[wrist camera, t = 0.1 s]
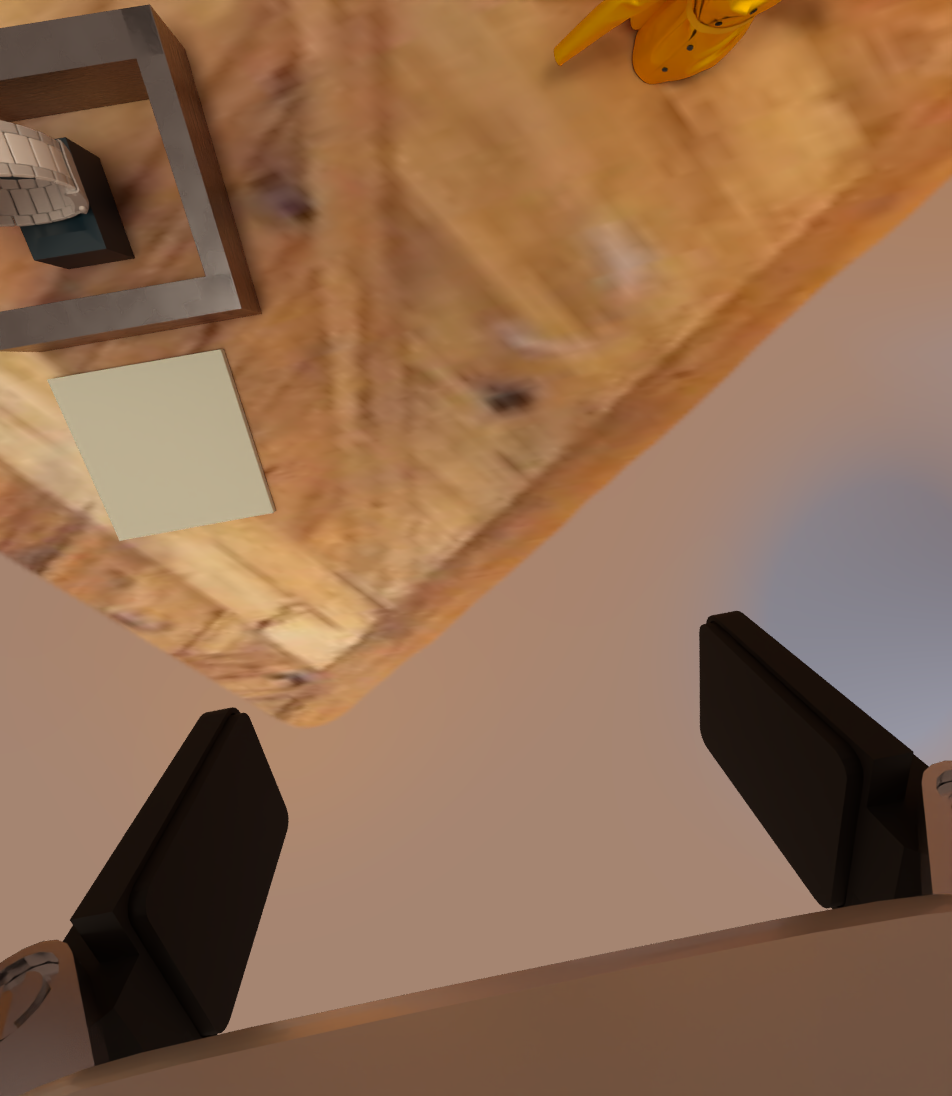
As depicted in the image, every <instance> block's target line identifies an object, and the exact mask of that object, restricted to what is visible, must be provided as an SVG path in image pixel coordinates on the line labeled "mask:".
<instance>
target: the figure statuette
mask: <svg viewBox="0 0 952 1096" xmlns="http://www.w3.org/2000/svg"><path fill="white" fill-rule="evenodd" d="M780 1H781V0H604V1H603V2H601V3H600V4H599V5H598V6H597V7H596V8H595V9H593V10H592V11H591V12H590V13H589V14H588V15H587V16H586V17H585V18H584V19H583V20H582V21H581V22H580V23H579V24H578V25H577V26H576V27H575V28H574V29H573V30H572V31H571V32H570V33H569V34H568V35H567V36H566V37H565V38H564V39H563V40H562V41H561V42H560V43H559V44H558V45H557V46H556V47H555V48H554V57H555V60H556V62H557V64H558V65H559V66H562V64H564V63H565V62H566V61H568V60H569V59H571V58H572V57H573V56H575V55H576V54H578V53H579V52H581V51H582V50H584V49H585V48H586V47H588V46H589V45H591V44H592V43H593V42H595V41H596V40H598V39H599V38H600V37H602V36H603V35H605V34H606V33H607V32H609V31H610V30H612V29H613V28H615V27H616V26H618V25H620V24H621V23H623V22H624V21H626V20H627V19H629V18H630V23H631V27H632V29H634V30H638V29H639V31H638V33H637V35H636V39H635V45H634V50H633V67H634V70H635V72H636V73H637V75H638V76H639V77H640V78H641V79H642V80H643V81H644V82H646V83H648V84H657V83H662V82H666V81H675V80H680V79H684V78H687V77H690V76H693V75H695V74H697V73H699V72H701V71H704V70H706V69H709V68H711V67H713V66H714V65H716V64H717V63H718V62H719V61H720V60H721V59H722V58H723V57H724V56H725V55H726V54H727V53H728V52H729V51H730V50H731V49H732V48H733V47H734V46H735V45H736V44H737V42H738V41H739V40H740V39H741V38H742V36H743V35H744V34H745V32H746V31H747V29H748V28H749V26H750V25H751V23H752V21H753V19H754V17H755V16H756V15H757V14H759V13H761V12H763V11H765V10H767V9H769V8H771V7H772V6H774V5H776V4H777V3H778V2H780Z"/></svg>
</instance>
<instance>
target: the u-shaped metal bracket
mask: <svg viewBox="0 0 952 1096" xmlns="http://www.w3.org/2000/svg"><path fill="white" fill-rule="evenodd" d="M145 99H150V103H151V106H152V109H153V112H154V115H155V118H156V121H157V125H158V128H159V131H160V134H161V137H162V140H163V143H164V146H165V150H166V153H167V156H168V159H169V162H170V165H171V168H172V172H173V175H174V178H175V181H176V184H177V187H178V190H179V194H180V197H181V200H182V203H183V206H184V209H185V212H186V215H187V219H188V222H189V225H190V228H191V231H192V234H193V237H194V241H195V244H196V247H197V250H198V253H199V256H200V259H201V263H202V266H203V269H204V272H205V275H206V277H201V278H195V279H189V280H183V281H177V282H171V283H166V284H160V285H154V286H148V287H142V288H136V289H131V290H125V291H119V292H113V293H107V294H101V295H96V296H90V297H84V298H78V299H72V300H66V301H61V302H55V303H49V304H43V305H37V306H31V307H26V308H20V309H14V310H8V311H2V312H0V351H10V352H44V351H50V350H56V349H61V348H67V347H73V346H79V345H85V344H90V343H96V342H102V341H108V340H113V339H119V338H125V337H131V336H136V335H142V334H148V333H154V332H159V331H165V330H171V329H177V328H182V327H188V326H194V325H200V324H206V323H211V322H217V321H223V320H229V319H234V318H240V317H246V316H252V315H257V314H262V313H261V310H260V306H259V303H258V300H257V296H256V293H255V289H254V286H253V282H252V279H251V275H250V272H249V268H248V265H247V262H246V258H245V255H244V251H243V248H242V244H241V241H240V237H239V234H238V231H237V227H236V224H235V220H234V217H233V213H232V210H231V206H230V203H229V200H228V196H227V193H226V189H225V186H224V182H223V179H222V175H221V172H220V169H219V165H218V162H217V158H216V155H215V151H214V148H213V144H212V141H211V137H210V134H209V131H208V127H207V124H206V120H205V117H204V113H203V110H202V106H201V103H200V100H199V96H198V93H197V89H196V86H195V82H194V79H193V75H192V72H191V69H190V65H189V62H188V58H187V55H186V51H185V49H184V47H183V46H182V45H181V43H180V42H179V41H178V40H177V38H176V37H175V36H174V35H173V33H172V32H171V31H170V30H169V28H168V27H167V26H166V24H165V23H164V22H163V21H162V19H161V18H160V17H159V16H158V14H157V13H156V12H155V11H154V9H153V8H152V7H151V5H143V6H137V7H131V8H125V9H118V10H112V11H106V12H100V13H93V14H87V15H81V16H74V17H68V18H62V19H56V20H49V21H43V22H37V23H30V24H24V25H18V26H12V27H5V28H0V120H1V121H6V122H11V121H17V120H23V119H29V118H35V117H41V116H47V115H53V114H59V113H66V112H72V111H78V110H84V109H90V108H96V107H102V106H108V105H115V104H121V103H127V102H133V101H139V100H145Z"/></svg>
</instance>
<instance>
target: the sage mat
mask: <svg viewBox="0 0 952 1096" xmlns="http://www.w3.org/2000/svg"><path fill="white" fill-rule="evenodd" d="M48 383H49V385H50V387H51V389H52V391H53V394H54V396H55V398H56V400H57V403H58V405H59V407H60V409H61V411H62V414H63V416H64V418H65V420H66V423H67V425H68V427H69V429H70V431H71V434H72V436H73V438H74V440H75V443H76V445H77V447H78V449H79V451H80V454H81V456H82V458H83V460H84V463H85V465H86V467H87V469H88V471H89V474H90V476H91V478H92V480H93V483H94V485H95V487H96V489H97V491H98V494H99V496H100V498H101V500H102V503H103V505H104V507H105V509H106V511H107V514H108V516H109V518H110V520H111V523H112V525H113V527H114V529H115V531H116V534H117V536H118V538H119V540H120V541H122V540H127V539H133V538H138V537H144V536H149V535H155V534H160V533H166V532H171V531H177V530H182V529H188V528H193V527H199V526H204V525H209V524H215V523H220V522H226V521H231V520H237V519H242V518H248V517H253V516H259V515H264V514H270V513H274V512H275V511H276V510H275V506H274V503H273V500H272V497H271V494H270V491H269V488H268V485H267V482H266V479H265V475H264V472H263V469H262V466H261V463H260V460H259V457H258V454H257V451H256V448H255V444H254V441H253V438H252V435H251V432H250V429H249V426H248V423H247V420H246V417H245V413H244V410H243V407H242V404H241V401H240V398H239V395H238V392H237V389H236V386H235V382H234V379H233V376H232V373H231V370H230V367H229V364H228V361H227V358H226V354H225V351H224V349H220V350H214V351H208V352H202V353H197V354H191V355H185V356H180V357H174V358H168V359H162V360H157V361H151V362H145V363H139V364H134V365H128V366H122V367H117V368H111V369H105V370H99V371H94V372H88V373H82V374H76V375H71V376H65V377H59V378H54V379H48Z"/></svg>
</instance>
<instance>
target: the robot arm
mask: <svg viewBox="0 0 952 1096" xmlns="http://www.w3.org/2000/svg"><path fill="white" fill-rule="evenodd" d="M699 637H700V639H699V640H700V731H701V736H702V738H703V741H704V743H705V745H706V747H707V748H708V749H709V751H710V752H711V754H712V755H713V757H714V758H715V759H716V761H717V762H718V764H719V765H720V766H721V768H722V769H723V771H724V772H725V774H726V775H727V776H728V778H729V779H730V781H731V782H732V783H733V785H734V786H735V788H736V789H737V790H738V792H739V793H740V794H741V796H742V797H743V799H744V800H745V802H746V803H747V804H748V806H749V807H750V809H751V810H752V811H753V813H754V814H755V816H756V817H757V818H758V820H759V821H760V822H761V824H762V825H763V827H764V828H765V830H766V831H767V832H768V834H769V835H770V837H771V838H772V839H773V841H774V842H775V844H776V845H777V846H778V848H779V849H780V851H781V852H782V853H783V855H784V856H785V858H786V859H787V861H788V862H789V863H790V865H791V866H792V867H793V869H794V870H795V871H796V873H797V874H798V876H799V877H800V879H801V880H802V882H803V883H804V884H805V886H806V887H807V888H808V890H809V891H810V893H811V894H812V896H813V897H814V898H815V899H816V900H817V902H818V903H819V904H820V905H821V906H822V907H824V908H832V910H826V911H821V912H815V913H809V914H804V915H799V916H792V917H787V918H781V919H776V920H770V921H766V922H760V923H755V924H751V925H745V926H741V927H735V928H730V929H725V930H720V931H716V932H710V933H705V934H700V935H695V936H690V937H685V938H680V939H675V940H670V941H665V942H660V943H655V944H650V945H645V946H640V947H635V948H630V949H625V950H620V951H615V952H610V953H605V954H600V955H595V956H590V957H585V958H580V959H576V960H571V961H566V962H561V963H556V964H551V965H547V966H541V967H537V968H532V969H527V970H522V971H517V972H512V973H507V974H502V975H497V976H493V977H488V978H483V979H478V980H473V981H469V982H464V983H459V984H454V985H449V986H444V987H440V988H434V989H430V990H425V991H420V992H415V993H411V994H406V995H401V996H396V997H392V998H387V999H382V1000H377V1001H373V1002H368V1003H364V1004H358V1005H354V1006H349V1007H344V1008H340V1009H335V1010H330V1011H326V1012H321V1013H316V1014H311V1015H307V1016H302V1017H298V1018H293V1019H288V1020H283V1021H278V1022H274V1023H269V1024H264V1025H260V1026H255V1027H250V1028H246V1029H242V1030H237V1031H233V1032H228V1033H224V1034H220V1035H217V1034H218V1033H222V1032H223V1031H224V1030H225V1028H226V1027H227V1025H228V1023H229V1020H230V1018H231V1014H232V1011H233V1007H234V1004H235V1001H236V998H237V994H238V991H239V988H240V985H241V981H242V978H243V975H244V971H245V968H246V965H247V961H248V958H249V955H250V952H251V948H252V945H253V941H254V938H255V935H256V931H257V928H258V925H259V922H260V918H261V915H262V912H263V909H264V905H265V902H266V899H267V895H268V892H269V889H270V885H271V882H272V879H273V875H274V872H275V869H276V865H277V862H278V859H279V856H280V852H281V849H282V846H283V843H284V839H285V835H286V832H287V829H288V812H287V808H286V806H285V804H284V801H283V798H282V796H281V794H280V791H279V789H278V786H277V784H276V781H275V779H274V776H273V774H272V772H271V769H270V767H269V764H268V762H267V759H266V757H265V754H264V752H263V749H262V747H261V745H260V742H259V740H258V737H257V735H256V732H255V730H254V727H253V725H252V722H251V720H250V718H249V716H248V715H247V714H246V713H240V712H239V710H237V709H236V708H227V709H222V710H217V711H212V712H206V713H204V714H203V715H202V716H201V717H200V718H199V720H198V721H197V723H196V724H195V726H194V727H193V729H192V731H191V732H190V734H189V735H188V737H187V738H186V740H185V742H184V743H183V745H182V746H181V748H180V749H179V751H178V752H177V754H176V756H175V757H174V759H173V760H172V762H171V763H170V765H169V766H168V768H167V769H166V771H165V773H164V774H163V776H162V777H161V779H160V780H159V782H158V784H157V785H156V787H155V788H154V790H153V791H152V793H151V794H150V796H149V797H148V799H147V801H146V802H145V804H144V805H143V807H142V808H141V810H140V812H139V813H138V815H137V816H136V818H135V819H134V821H133V823H132V824H131V826H130V827H129V829H128V830H127V832H126V833H125V835H124V836H123V838H122V840H121V841H120V843H119V844H118V846H117V847H116V849H115V850H114V852H113V854H112V855H111V857H110V858H109V860H108V861H107V863H106V865H105V866H104V868H103V869H102V871H101V872H100V874H99V876H98V877H97V879H96V880H95V882H94V883H93V885H92V886H91V888H90V890H89V891H88V893H87V894H86V896H85V897H84V899H83V900H82V902H81V904H80V905H79V907H78V908H77V910H76V911H75V913H74V915H73V916H72V918H71V919H70V921H71V922H72V924H73V926H72V928H71V929H70V931H69V933H68V934H67V936H66V937H65V939H64V940H63V942H62V941H59V940H50V941H42V942H39V943H37V944H34V945H31V946H29V947H26V948H24V949H22V950H21V951H19V952H17V953H15V954H14V955H12V956H10V957H8V958H7V959H5V960H4V961H3V962H1V963H0V1096H952V761H943V762H939V763H936V764H932V765H931V766H930V767H929V766H927V765H926V764H925V763H924V762H922V761H921V760H920V759H919V758H918V757H916V756H915V755H914V754H913V751H911V749H909V748H908V747H907V746H906V745H904V744H903V743H902V742H901V741H899V740H898V739H897V738H896V737H895V736H893V735H892V734H891V733H890V732H888V731H887V730H886V729H884V728H883V727H882V726H881V725H880V724H878V723H877V722H876V721H875V720H874V719H872V718H871V717H870V716H869V715H867V714H866V713H865V712H864V711H862V710H861V709H860V708H859V707H857V706H856V705H855V704H854V703H853V702H851V701H850V700H849V699H848V698H846V697H845V696H844V695H843V694H842V693H840V692H839V691H838V690H837V689H835V688H834V687H833V686H832V685H830V684H829V683H828V682H826V680H824V679H823V678H822V677H821V676H819V675H818V674H817V673H816V672H815V671H813V670H812V669H811V668H809V667H808V666H807V665H806V664H805V663H803V662H802V661H801V660H800V659H798V658H797V657H796V656H795V655H793V654H792V653H791V652H790V651H789V650H787V649H786V648H785V647H784V646H782V645H781V644H780V643H779V642H778V641H776V640H775V639H774V638H773V637H771V636H770V635H769V634H768V633H766V632H765V631H764V630H763V629H762V628H760V627H759V626H758V625H757V624H755V623H754V622H753V621H752V620H750V619H749V618H748V617H747V616H745V615H744V614H743V613H741V612H740V611H733V612H728V613H723V614H717V615H712V616H710V617H708V619H707V623H706V624H703V625H701V627H700V632H699Z"/></svg>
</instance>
